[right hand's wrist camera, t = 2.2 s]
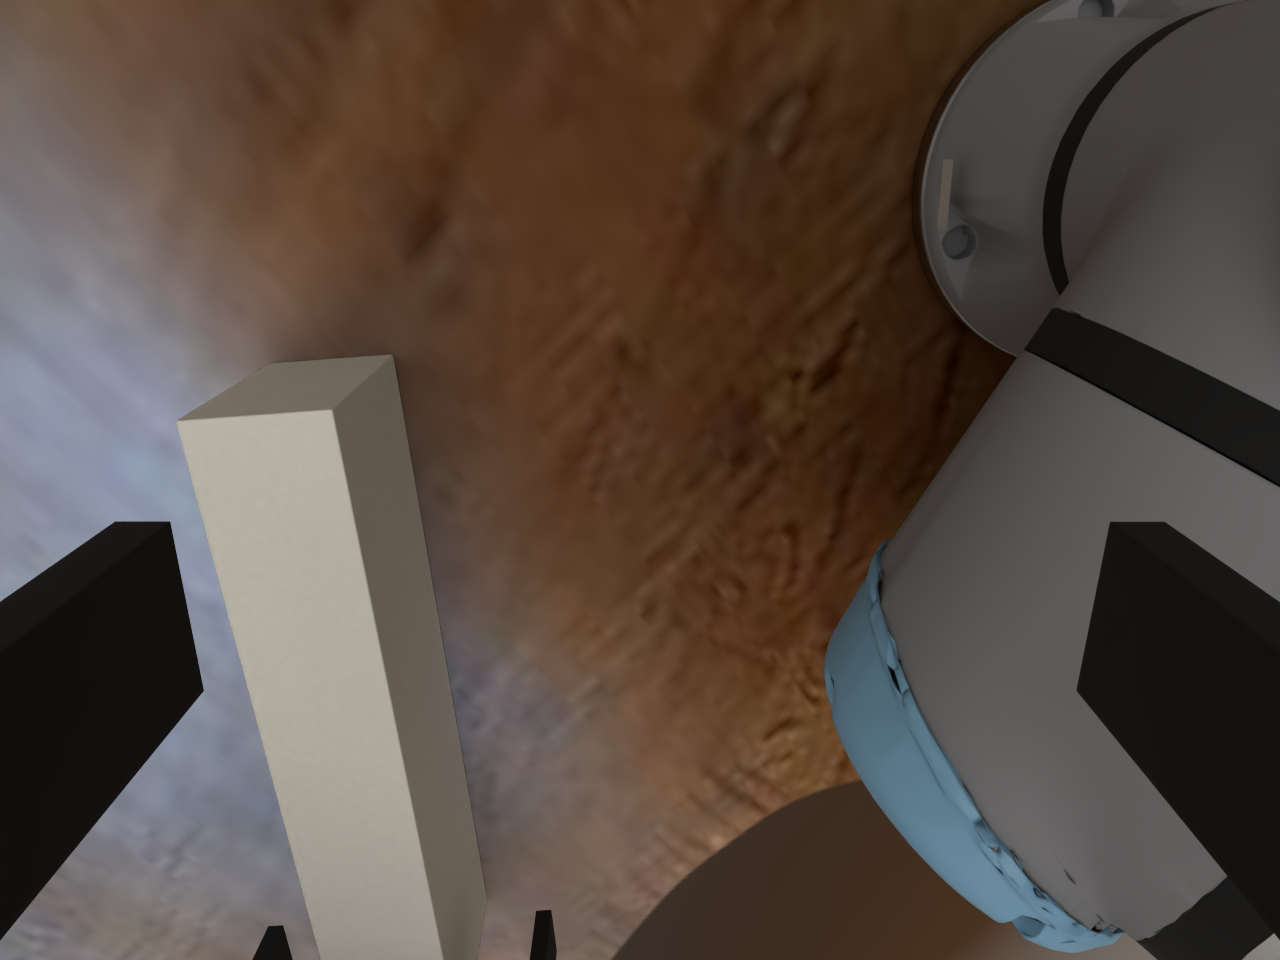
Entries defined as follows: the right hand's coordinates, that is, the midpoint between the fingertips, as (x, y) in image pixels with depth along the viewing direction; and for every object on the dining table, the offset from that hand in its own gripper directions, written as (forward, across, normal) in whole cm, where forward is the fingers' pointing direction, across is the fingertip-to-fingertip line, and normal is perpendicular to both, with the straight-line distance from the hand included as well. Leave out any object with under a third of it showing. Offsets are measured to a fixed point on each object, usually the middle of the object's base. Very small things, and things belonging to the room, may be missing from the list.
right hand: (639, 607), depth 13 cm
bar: (+28, -13, -19) cm, 36 cm away
